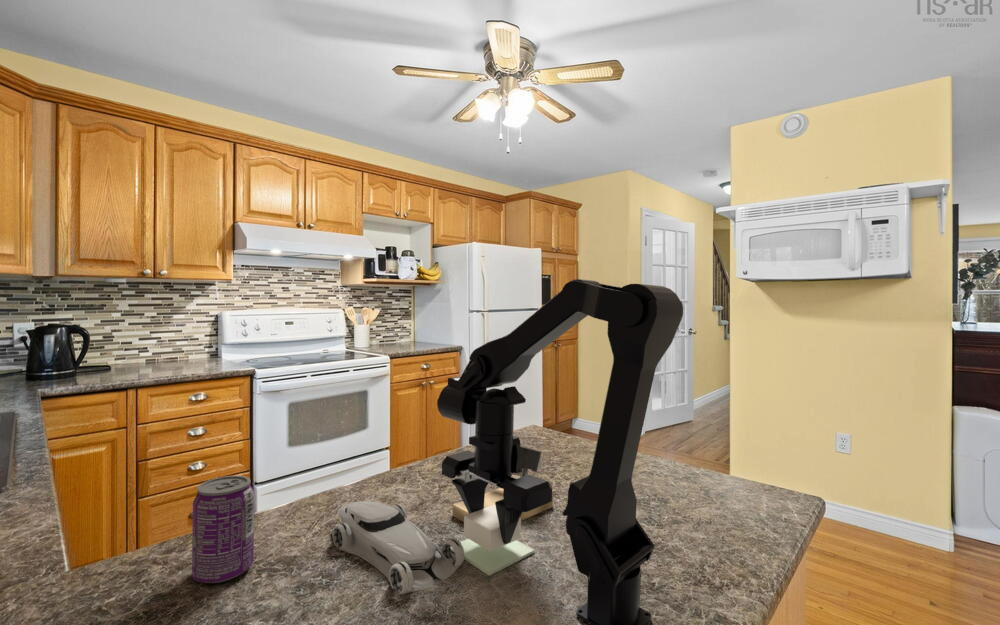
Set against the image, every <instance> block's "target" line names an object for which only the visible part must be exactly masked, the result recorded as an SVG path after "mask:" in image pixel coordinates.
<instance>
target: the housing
mask: <svg viewBox="0 0 1000 625" xmlns="http://www.w3.org/2000/svg"><path fill="white" fill-rule="evenodd" d="M503 490H504V489H502V488H500V487H498V488H495V489H494V490H490V491H487V492H485V498H484V508H486V507H489V506H492V505H495V502H497V501H499V500H502V499H504V498H503ZM553 498H554V496H553V495H552V502H550V503H547V504H545V505H542V506H540V507H538V508H535V509H533V510H530V511H528V512H522V514H521V516H520V518H521V521H524V520H526V519H528V518H531V517H533V516H535V515H537V514H540V513H542V512H544V511H547V510H549V509H551V508H553V506H554V505H553V500H554V499H553ZM468 514H469V513H468V510H467V508H466V506H465V504H464V502H463V500H461V501H458V502H456V503H452V517H453V518H456V519H457V520H459V521H460V522H463V523H464V516H465V515H468Z"/></svg>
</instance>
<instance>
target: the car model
mask: <svg viewBox="0 0 1000 625" xmlns="http://www.w3.org/2000/svg"><path fill="white" fill-rule="evenodd" d="M337 513H338V517H339V518H340V520H341V522H339V523H338V524H336V525H335V526H334V527H333V529H332V530H331V535H332V540H333V544H334V546H335V547H336V548H337V549H339V550H340V551H343V552H345V553H349V554H350V555H354V556H357V557H360V558H361V559H363V560H364V561H366V562H368V563H369V564H371V565H372V566H373V567H375V568H376V569H377V570H378V571H379V572H381V574H383V575H384V576H385V577H386V579H387V580H388V581H389V583H390V586H391V588H392V589H393V590H395V591H396V592H398V594H399V595H406V594H409V593H415V592H419V591H424V590H427V589H429V588H430V587H432V586H434V579H436V580H437V579H438V580H442V581H443V580H445V579H448V578H450V577H452V575H454V574H455V572H457V570H458V569H459V568H460V566H462V564H463V563H464V561H465V559H464V558H465V554H464V549H463V546H462V545H461V543H460V542H461V541H459V540H458V539H457V538H456V539H455V538H452V539H451V538H450V539H447V540H446V541H444V543H443V544H442V547H441V550H440V549H439V547H438V546H437V545H436V544H435V543H434V541H432V539H431V538H429V537H428V536H427V535H426V534H425V532H424V531H423V530H421V529H420V528H419V527H418V526H417V525H416V524H415V523H413V521H411V520H409V519H408V515H407V511H406V509H405V507H404V505H401V504H399V503H398V504H393V505H391V506H390V505H387V504H385V503H382V502H378V501H372V500H360V501H359V500H358V501H353V502H351V503H350V502H349V503H347V504H344V505H343V506H341V507H339V509H338V511H337ZM450 547H452V548H453V549H454V552H455V553H454V552H453V553H454V555H455V558H454V557H453V555H452V551H451V550H450Z"/></svg>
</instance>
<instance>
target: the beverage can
mask: <svg viewBox="0 0 1000 625" xmlns="http://www.w3.org/2000/svg"><path fill="white" fill-rule="evenodd" d="M196 491H197V494H196V496H195V497H194V499H193V502H192V529H191V530H192V531H191V532H192V533H191V534H192V537H191V538H192V540H191V541H192V542H191V544H192V545H191V546H192V547H191V559H192V560H191V577H192V579H193V580H195V581H196V582H199V583H206V584H221V583H224V582H227V581H230V580H233V579H235V578H237V577H239V575H242V574H243V573H245V572H246V571H248V570H249V569H250V568H251V567H252V566H253V564H254V560H255V559H254V552H255V551H254V548H255V544H254V543H255V541H254V539H255V537H254V536H255V535H254V534H255V491H254V489H253V487H252V486H251V478H250V477H248V476H244V475H227V476H226V475H225V476H220V477H215V478H212V479H209V480H207V481H204V482H202V483H201V484H199V485H198V486H197V488H196Z"/></svg>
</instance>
